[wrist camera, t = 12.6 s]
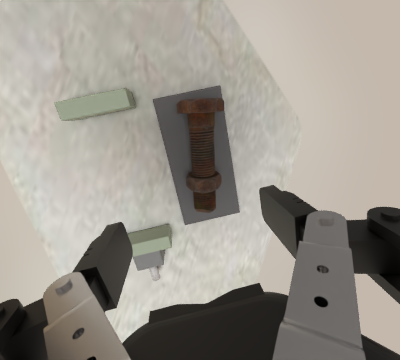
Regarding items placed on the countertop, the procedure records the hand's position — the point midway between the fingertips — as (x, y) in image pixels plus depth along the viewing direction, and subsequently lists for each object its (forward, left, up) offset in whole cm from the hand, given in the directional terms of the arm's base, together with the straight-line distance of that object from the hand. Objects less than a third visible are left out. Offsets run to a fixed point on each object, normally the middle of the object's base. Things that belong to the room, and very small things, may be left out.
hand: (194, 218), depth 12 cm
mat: (+1, +2, -19) cm, 19 cm away
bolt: (0, +2, -19) cm, 19 cm away
